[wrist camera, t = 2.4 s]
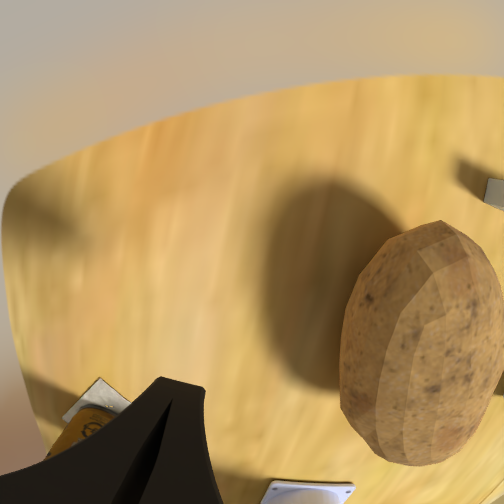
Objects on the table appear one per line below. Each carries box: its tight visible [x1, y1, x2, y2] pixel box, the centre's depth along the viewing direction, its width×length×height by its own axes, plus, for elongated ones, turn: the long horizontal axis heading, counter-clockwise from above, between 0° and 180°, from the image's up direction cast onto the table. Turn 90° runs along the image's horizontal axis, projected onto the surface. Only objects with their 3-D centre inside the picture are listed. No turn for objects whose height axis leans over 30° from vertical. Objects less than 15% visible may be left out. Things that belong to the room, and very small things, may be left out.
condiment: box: [43, 378, 131, 461], centre depth 16 cm, size 7×8×12 cm
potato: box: [339, 220, 504, 466], centre depth 14 cm, size 10×14×8 cm
